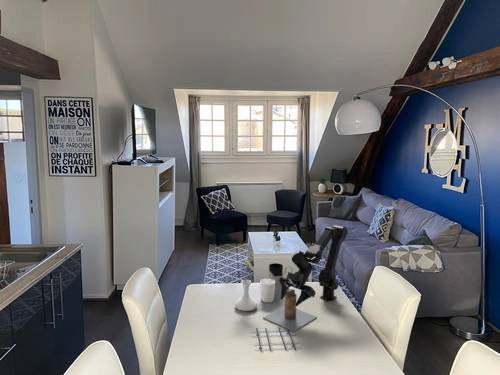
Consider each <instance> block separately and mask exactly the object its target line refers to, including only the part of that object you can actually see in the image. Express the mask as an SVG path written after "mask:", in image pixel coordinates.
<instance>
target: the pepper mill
mask: <svg viewBox="0 0 500 375" xmlns="http://www.w3.org/2000/svg"><path fill="white" fill-rule="evenodd" d="M295 291H296V290H295V289H291V288H289V289H288V290H287V293H286V294H285V297H284V306H285V316H284V317H285V318H286V319H288V320H293V319H295V318H296V309H297V306H296V302H297V294H296V292H295Z"/></svg>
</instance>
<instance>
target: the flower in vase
mask: <svg viewBox="0 0 500 375" xmlns="http://www.w3.org/2000/svg"><path fill="white" fill-rule="evenodd" d="M244 261H245V263H246V264H247V265H246V268H245V270H244V272H243V274H244V279H242V280H241V284H242V286H243V295H242V296H241V297H239V299H237V300H236V301H235V302H234V307H235V308H236V309H237V310H239V311H243V312H248V311H249V312H250V311H253V310H256V308H257V307H258V302H257V301H256V300H255V299H254V298H253V297H251V296H250V294H249V290H250V288H249V287H250V285H251V283H252V281H251V279H250V280H249V279H248V278H249V277H250V276H247V275H246V272H247V270H248V269H247V268H248V267H249V268H250V269H251V271H253V272H254V271H255V268H254V267H253V264H252V262H250V260H249V259H248V258H247V257H244Z"/></svg>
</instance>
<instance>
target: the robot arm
mask: <svg viewBox="0 0 500 375" xmlns="http://www.w3.org/2000/svg"><path fill="white" fill-rule="evenodd" d="M348 233H349V230H348V228H347V226H344V225H337V224H334V225H331V226H325V228H324V230H323V233H322V234H321V235H320V236H319V238H318V239H317V241H316V242H315V243H314V245H312V246H310V247H308V248H307V250H306V251H305V252H303V251H302V250H301V251H300V250H299V251H298V252H297V253H294V255H292V257H291V262H292V263H293V264H294V265H295V267H297V269H298V270H297V271H295V272H292V271H291V272H292V273H291V272H289V271H288V272H287V276H286V277H285V276H283V277H280V279H279V282H280V284H281V286H282V291H281V295H280V300H281V301H283V299H285V294H286V293H287V290H288V289H290V288H291V287H292V288H294V289H297V290H300V294H299V297H298V298H297V299H296V307H298V306H300V305H301V304H302V303H303V302H305V301H306V300H308V299H311V298H314V297H315V296H316V290H315V289H314V288H313V286H310V285H307V284H306V283H307V282H309V281H310V280H309V277H310V276H311V273H312V272H315V271H316V269H315V265H316V264H317V265H318V264H319V263H320V262H321V260H322V257H323V251H325V250H324V249H325V248H326V247H327V246H328V244H329V243H330V241H331V243H330V247H329V249H328V250H329V251H328V254H327V258H326V263H325V267H324V268H322V269H320V271H319V275H318V279H317V280H318V283H319V284H318V285H319V287H322V294H321V296H320V297H319V298H321V299H323V300H325V301H328V302H332V301H334V300H335V299H337V296H336V295H335V290H336V291H337V290H338V289H339V282H338V281H337V274H336V271H335V269H336V266H337V265H336V264H337V261H338V258H339V255H340V254H339V253H340V250H341V245H342V244H343V242H344V241H345V240H346V239H347V235H348ZM313 264H315V265H313ZM288 279H290V280H288Z"/></svg>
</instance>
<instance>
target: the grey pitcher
mask: <svg viewBox="0 0 500 375" xmlns="http://www.w3.org/2000/svg"><path fill="white" fill-rule="evenodd" d="M288 268H290V269H291V273H294V272H293V267H292V266H289V265H288V266H286V267H284V266H283V264H281V263H276V262H273V263H270V264H268V279H273V280H275V294H274V296H280V295H279V294H281V291H282V286H281V284H280V282H279V279H280V277H284V275H286V272H287V269H288ZM283 271H284V272H283ZM288 280H289V281H291V280H290V279H288Z"/></svg>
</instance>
